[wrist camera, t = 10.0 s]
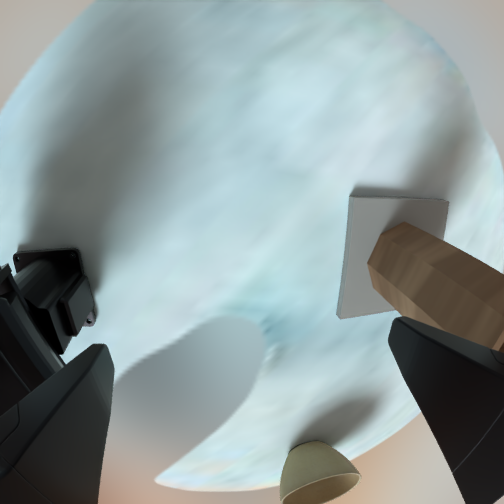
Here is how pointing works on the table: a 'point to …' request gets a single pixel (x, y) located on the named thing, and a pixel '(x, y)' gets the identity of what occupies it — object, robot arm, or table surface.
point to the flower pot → (316, 475)
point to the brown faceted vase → (439, 285)
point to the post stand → (365, 238)
